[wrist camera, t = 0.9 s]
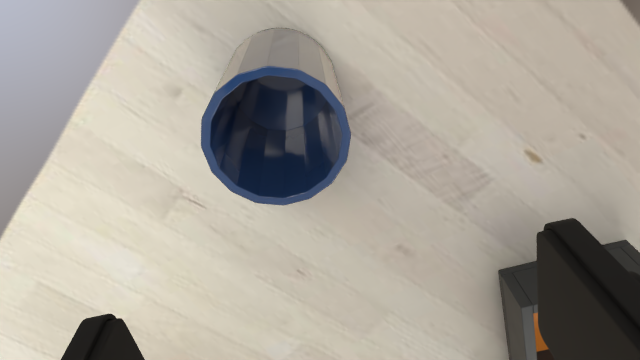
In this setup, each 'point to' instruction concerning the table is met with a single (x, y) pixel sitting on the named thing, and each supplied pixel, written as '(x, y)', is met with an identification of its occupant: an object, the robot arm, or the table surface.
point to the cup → (276, 120)
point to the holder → (522, 303)
